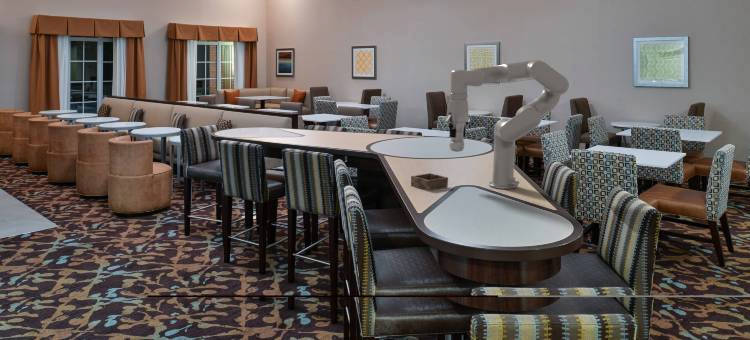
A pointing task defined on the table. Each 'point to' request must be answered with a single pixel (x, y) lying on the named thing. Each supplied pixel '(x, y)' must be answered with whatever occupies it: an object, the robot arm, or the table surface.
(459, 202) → the table surface
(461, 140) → the silver rounded threaded piece
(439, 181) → the square wooden frame
